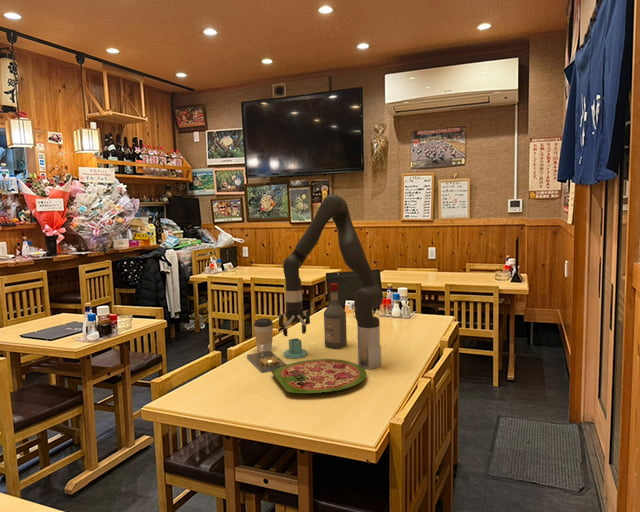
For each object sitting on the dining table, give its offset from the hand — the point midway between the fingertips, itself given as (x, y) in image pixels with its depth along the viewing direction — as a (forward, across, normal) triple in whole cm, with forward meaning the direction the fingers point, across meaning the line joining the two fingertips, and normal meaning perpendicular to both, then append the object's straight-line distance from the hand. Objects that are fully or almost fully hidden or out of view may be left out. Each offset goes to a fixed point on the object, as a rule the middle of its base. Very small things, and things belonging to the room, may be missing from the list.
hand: (294, 334), depth 214 cm
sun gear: (+8, -15, -9) cm, 19 cm away
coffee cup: (+10, -10, +13) cm, 19 cm away
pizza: (+9, -2, -33) cm, 34 cm away
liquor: (+10, +22, +3) cm, 24 cm away
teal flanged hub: (+9, 0, -1) cm, 9 cm away
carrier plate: (+9, -15, -4) cm, 18 cm away
